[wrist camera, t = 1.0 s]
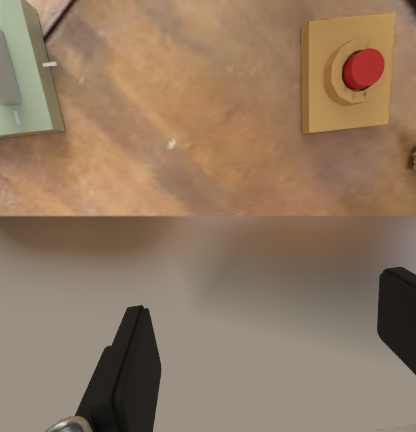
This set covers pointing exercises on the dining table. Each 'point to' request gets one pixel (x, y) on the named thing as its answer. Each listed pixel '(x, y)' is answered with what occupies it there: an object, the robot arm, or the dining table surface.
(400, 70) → the dining table surface
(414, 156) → the pipe fitting
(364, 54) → the button
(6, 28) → the dial base
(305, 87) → the button box
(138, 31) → the dining table surface
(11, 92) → the knob
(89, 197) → the dining table surface
